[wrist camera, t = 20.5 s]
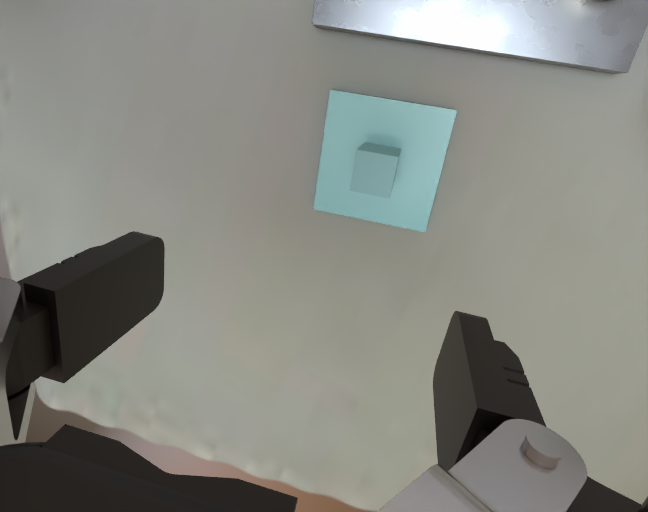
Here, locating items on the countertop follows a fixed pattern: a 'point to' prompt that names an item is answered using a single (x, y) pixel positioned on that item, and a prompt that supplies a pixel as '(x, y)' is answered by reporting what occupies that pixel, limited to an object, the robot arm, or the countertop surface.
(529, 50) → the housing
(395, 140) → the cover
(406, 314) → the countertop surface
